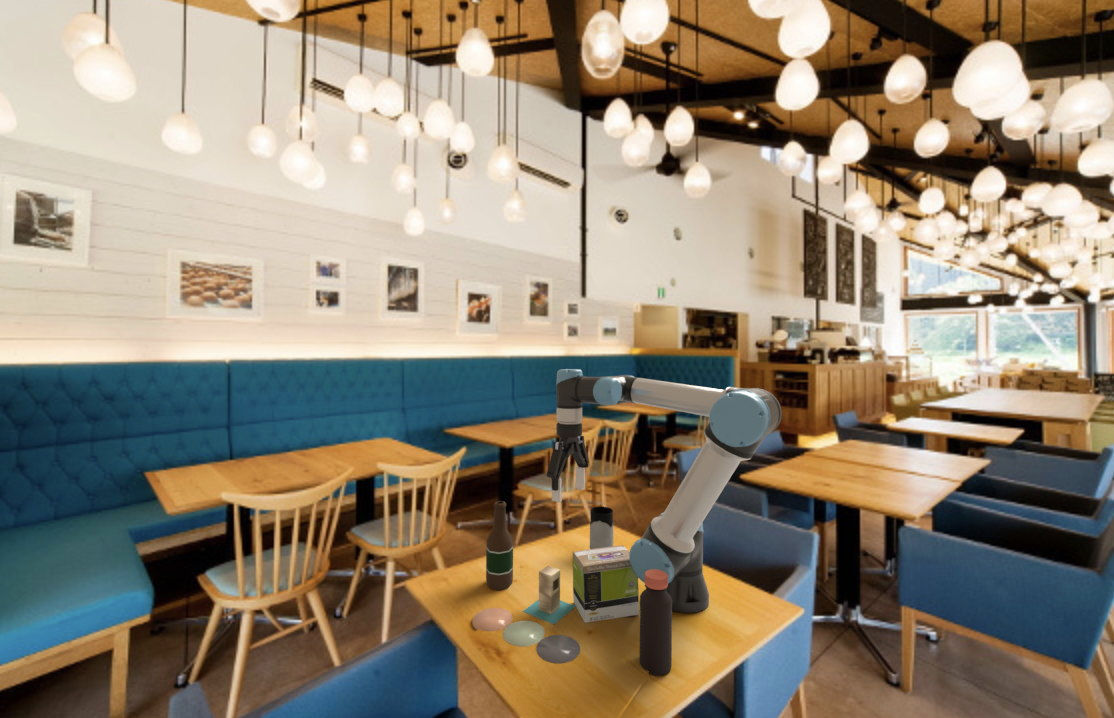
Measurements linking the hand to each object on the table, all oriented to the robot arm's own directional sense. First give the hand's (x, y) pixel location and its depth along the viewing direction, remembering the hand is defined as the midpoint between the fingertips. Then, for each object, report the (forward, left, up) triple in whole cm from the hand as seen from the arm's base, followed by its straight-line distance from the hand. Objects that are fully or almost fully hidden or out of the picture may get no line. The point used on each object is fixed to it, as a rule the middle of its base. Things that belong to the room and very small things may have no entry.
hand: (569, 495), depth 134 cm
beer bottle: (+17, +11, -27) cm, 33 cm away
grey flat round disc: (-14, +26, -26) cm, 40 cm away
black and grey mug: (+3, -26, -27) cm, 37 cm away
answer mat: (-3, +14, -26) cm, 30 cm away
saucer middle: (-4, +26, -26) cm, 37 cm away
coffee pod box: (-15, +6, -27) cm, 31 cm away
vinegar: (-34, +18, -27) cm, 47 cm away
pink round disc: (+6, +26, -26) cm, 38 cm away
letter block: (-3, +14, -26) cm, 30 cm away
